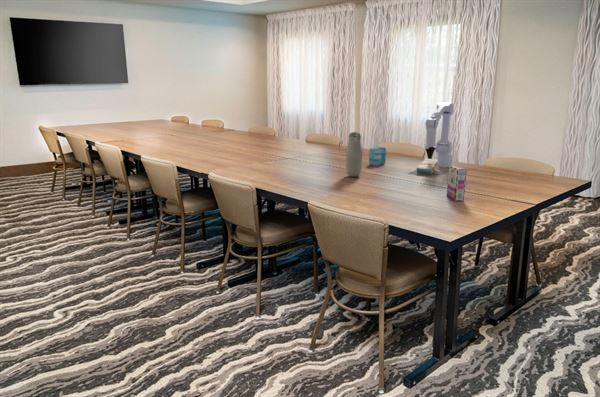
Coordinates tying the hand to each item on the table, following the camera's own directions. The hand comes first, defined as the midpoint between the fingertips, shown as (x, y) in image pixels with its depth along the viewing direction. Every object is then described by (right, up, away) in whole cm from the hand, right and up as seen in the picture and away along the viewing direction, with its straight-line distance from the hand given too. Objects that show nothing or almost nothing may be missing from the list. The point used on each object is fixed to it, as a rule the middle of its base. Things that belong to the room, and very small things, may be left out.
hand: (429, 158), depth 299 cm
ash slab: (+1, -3, +3) cm, 4 cm away
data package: (-28, -1, +33) cm, 44 cm away
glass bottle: (-50, -12, -6) cm, 52 cm away
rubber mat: (-1, -9, +1) cm, 10 cm away
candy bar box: (-4, -26, -60) cm, 66 cm away
